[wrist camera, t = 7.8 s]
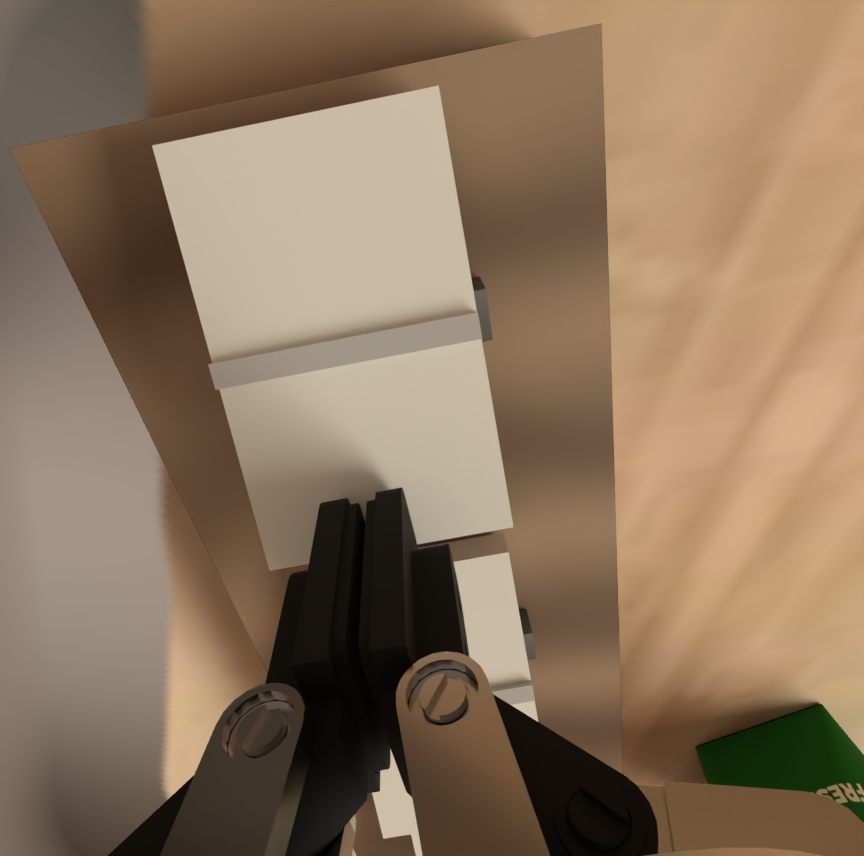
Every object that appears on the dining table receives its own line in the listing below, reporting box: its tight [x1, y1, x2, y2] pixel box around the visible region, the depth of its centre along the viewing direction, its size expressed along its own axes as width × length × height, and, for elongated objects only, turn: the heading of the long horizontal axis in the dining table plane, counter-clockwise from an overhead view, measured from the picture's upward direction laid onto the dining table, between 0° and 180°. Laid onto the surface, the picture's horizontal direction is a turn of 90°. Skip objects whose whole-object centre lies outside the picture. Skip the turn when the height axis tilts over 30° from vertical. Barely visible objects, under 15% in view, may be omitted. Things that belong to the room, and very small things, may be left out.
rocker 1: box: [152, 86, 513, 571], centre depth 12 cm, size 8×5×2 cm, turn 10°
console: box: [10, 23, 623, 856], centre depth 21 cm, size 32×12×6 cm, turn 10°
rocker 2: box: [372, 533, 538, 839], centre depth 17 cm, size 8×5×2 cm, turn 10°
